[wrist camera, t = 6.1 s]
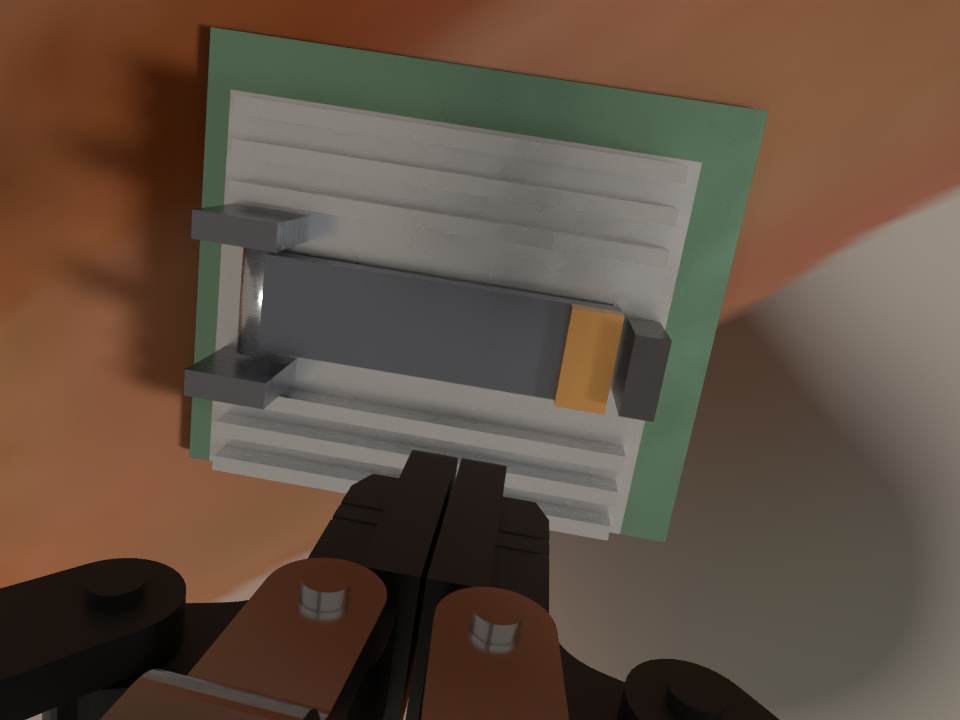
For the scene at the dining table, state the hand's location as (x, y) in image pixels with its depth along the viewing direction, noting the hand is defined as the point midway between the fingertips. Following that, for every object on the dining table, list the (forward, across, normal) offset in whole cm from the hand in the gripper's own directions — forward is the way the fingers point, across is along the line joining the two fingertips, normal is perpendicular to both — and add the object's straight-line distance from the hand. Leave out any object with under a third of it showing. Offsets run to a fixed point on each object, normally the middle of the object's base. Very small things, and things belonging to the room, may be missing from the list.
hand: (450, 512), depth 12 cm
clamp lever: (+12, +2, 0) cm, 12 cm away
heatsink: (+17, +2, 0) cm, 17 cm away
